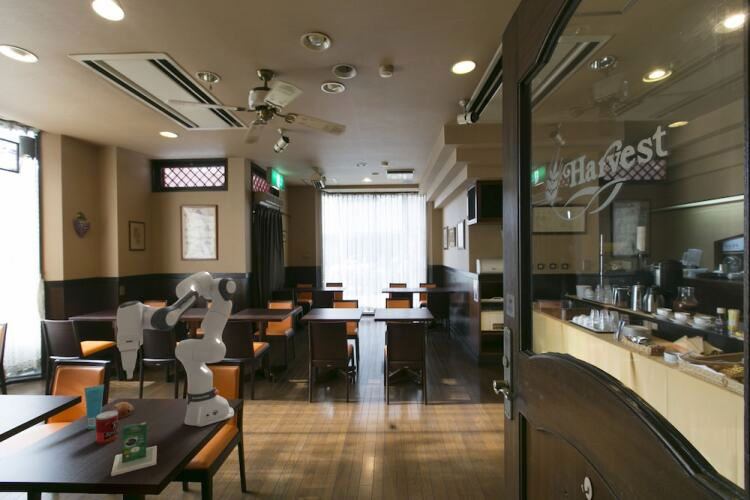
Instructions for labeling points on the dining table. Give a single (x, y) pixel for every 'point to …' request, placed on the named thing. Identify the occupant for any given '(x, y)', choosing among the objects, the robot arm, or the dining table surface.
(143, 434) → the coffee box
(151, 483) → the dining table surface
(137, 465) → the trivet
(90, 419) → the tube
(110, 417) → the canned food
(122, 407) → the bread roll
